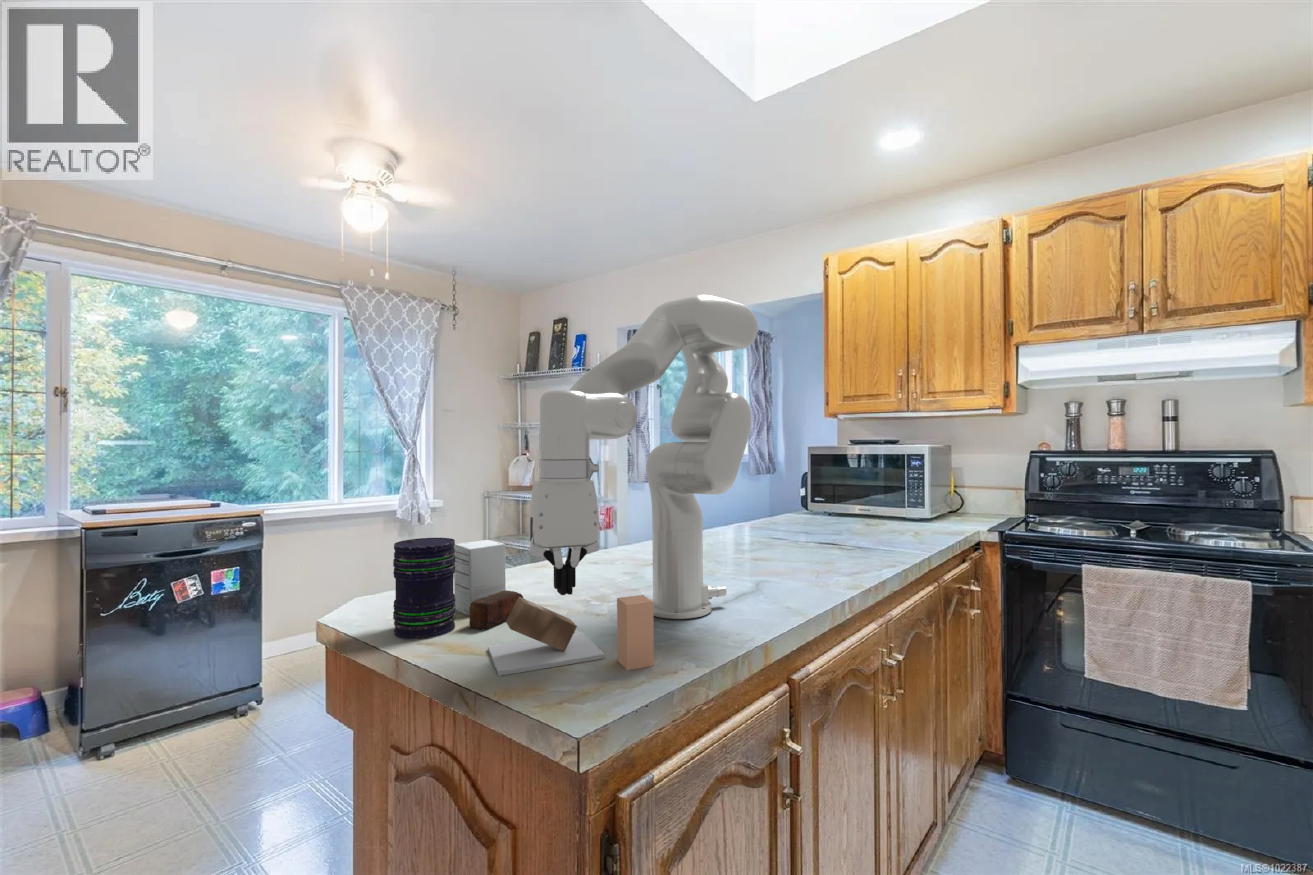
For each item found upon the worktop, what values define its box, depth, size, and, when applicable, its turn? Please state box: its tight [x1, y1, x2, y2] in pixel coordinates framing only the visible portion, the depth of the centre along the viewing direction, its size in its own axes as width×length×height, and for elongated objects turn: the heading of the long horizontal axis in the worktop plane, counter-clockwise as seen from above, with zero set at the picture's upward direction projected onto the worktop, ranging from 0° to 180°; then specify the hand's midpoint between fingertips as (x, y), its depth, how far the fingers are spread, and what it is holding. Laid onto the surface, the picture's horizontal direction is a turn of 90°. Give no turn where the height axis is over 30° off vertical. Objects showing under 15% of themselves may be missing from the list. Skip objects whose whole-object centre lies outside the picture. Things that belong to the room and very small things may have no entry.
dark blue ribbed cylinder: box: [392, 537, 457, 641], centre depth 97 cm, size 10×10×15 cm
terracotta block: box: [616, 594, 655, 671], centre depth 82 cm, size 4×4×9 cm
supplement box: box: [453, 539, 507, 617], centre depth 110 cm, size 7×7×13 cm
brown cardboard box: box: [505, 597, 578, 652], centre depth 85 cm, size 4×4×9 cm
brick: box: [469, 590, 524, 631], centre depth 102 cm, size 11×4×5 cm, turn 159°
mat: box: [487, 632, 605, 677], centre depth 85 cm, size 15×11×1 cm
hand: (564, 592), depth 87 cm, fingers closed
